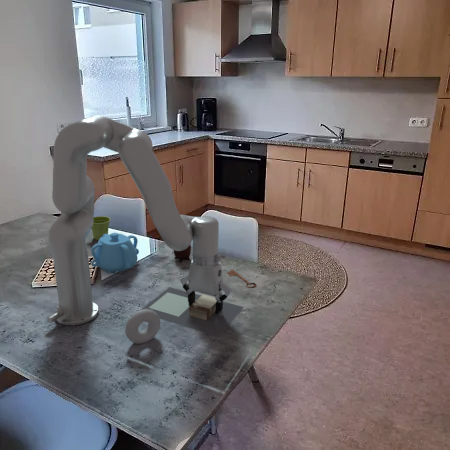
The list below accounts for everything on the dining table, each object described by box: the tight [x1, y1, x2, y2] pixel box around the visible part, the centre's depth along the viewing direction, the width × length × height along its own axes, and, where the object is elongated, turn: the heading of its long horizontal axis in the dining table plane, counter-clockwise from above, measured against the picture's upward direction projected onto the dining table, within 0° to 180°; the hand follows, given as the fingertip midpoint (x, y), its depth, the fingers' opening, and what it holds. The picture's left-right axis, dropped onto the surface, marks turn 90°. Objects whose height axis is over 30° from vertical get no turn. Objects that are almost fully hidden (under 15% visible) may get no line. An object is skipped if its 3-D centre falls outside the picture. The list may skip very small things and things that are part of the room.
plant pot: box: [91, 215, 111, 241], centre depth 182 cm, size 9×9×9 cm
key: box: [226, 269, 257, 289], centre depth 150 cm, size 6×1×15 cm
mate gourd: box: [173, 244, 192, 263], centre depth 163 cm, size 8×8×15 cm
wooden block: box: [189, 293, 217, 321], centre depth 127 cm, size 9×6×3 cm
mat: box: [140, 286, 245, 338], centre depth 129 cm, size 18×28×1 cm, turn 65°
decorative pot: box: [90, 232, 140, 275], centre depth 154 cm, size 16×16×14 cm
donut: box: [124, 308, 161, 345], centre depth 112 cm, size 10×3×10 cm, turn 125°
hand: (205, 308), depth 128 cm, fingers open, 9 cm apart
